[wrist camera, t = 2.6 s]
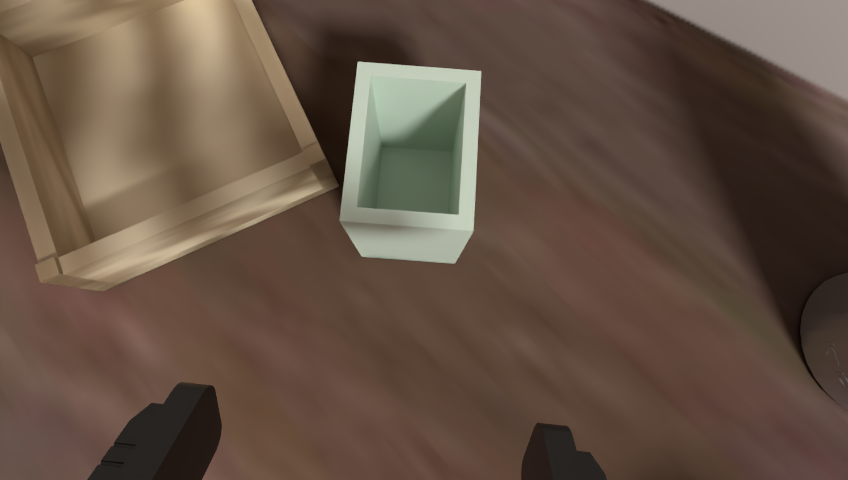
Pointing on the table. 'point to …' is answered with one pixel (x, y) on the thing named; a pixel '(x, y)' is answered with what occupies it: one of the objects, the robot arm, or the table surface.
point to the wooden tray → (146, 131)
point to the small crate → (411, 162)
